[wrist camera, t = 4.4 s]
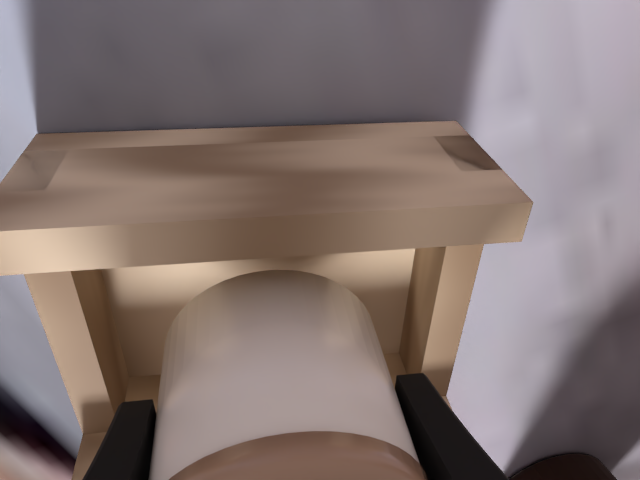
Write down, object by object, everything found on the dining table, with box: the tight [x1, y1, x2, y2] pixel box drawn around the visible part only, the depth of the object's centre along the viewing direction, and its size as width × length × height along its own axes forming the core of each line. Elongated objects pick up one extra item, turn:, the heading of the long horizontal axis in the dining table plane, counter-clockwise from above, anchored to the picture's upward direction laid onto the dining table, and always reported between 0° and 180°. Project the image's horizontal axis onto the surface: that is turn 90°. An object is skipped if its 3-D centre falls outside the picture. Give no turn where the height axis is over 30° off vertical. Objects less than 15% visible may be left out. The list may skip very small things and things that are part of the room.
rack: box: [0, 121, 533, 480], centre depth 16 cm, size 11×17×6 cm, turn 178°
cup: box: [148, 270, 428, 480], centre depth 11 cm, size 5×5×6 cm
